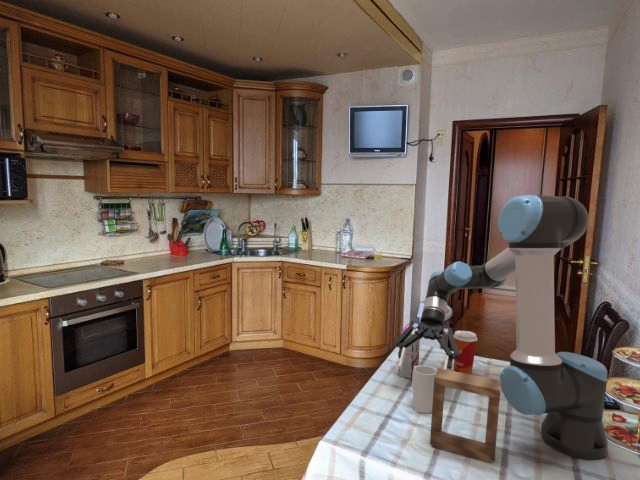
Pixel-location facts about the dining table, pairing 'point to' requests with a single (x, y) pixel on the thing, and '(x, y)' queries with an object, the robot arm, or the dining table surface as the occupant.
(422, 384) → the mug
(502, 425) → the dining table surface
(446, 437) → the brown wooden frame
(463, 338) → the coffee cup
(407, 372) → the candy bar box
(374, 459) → the dining table surface
